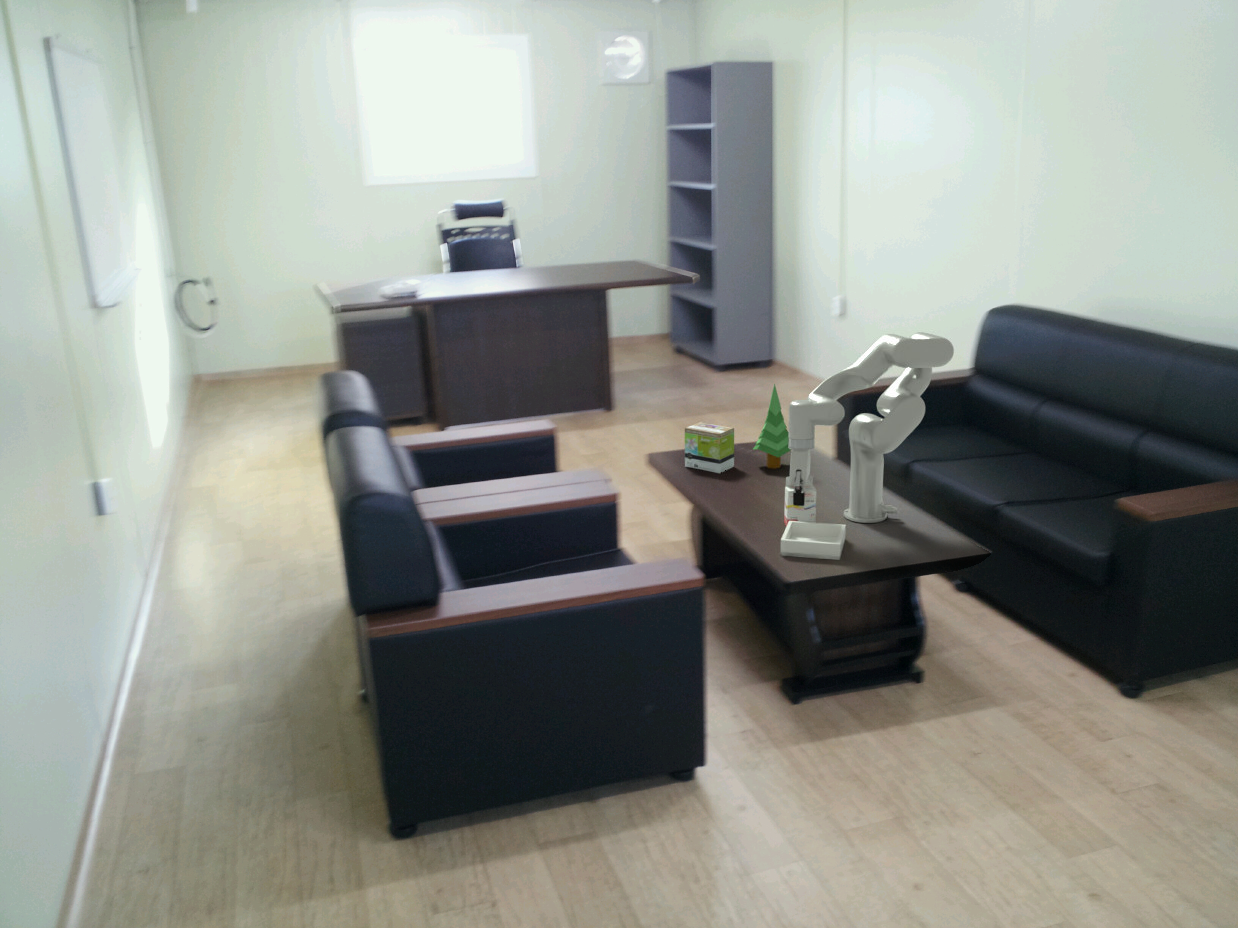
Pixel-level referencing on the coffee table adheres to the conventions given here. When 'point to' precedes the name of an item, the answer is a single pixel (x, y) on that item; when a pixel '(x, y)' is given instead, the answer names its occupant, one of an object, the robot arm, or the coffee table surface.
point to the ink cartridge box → (800, 512)
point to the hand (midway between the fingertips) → (800, 501)
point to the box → (813, 540)
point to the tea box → (709, 447)
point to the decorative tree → (773, 434)
